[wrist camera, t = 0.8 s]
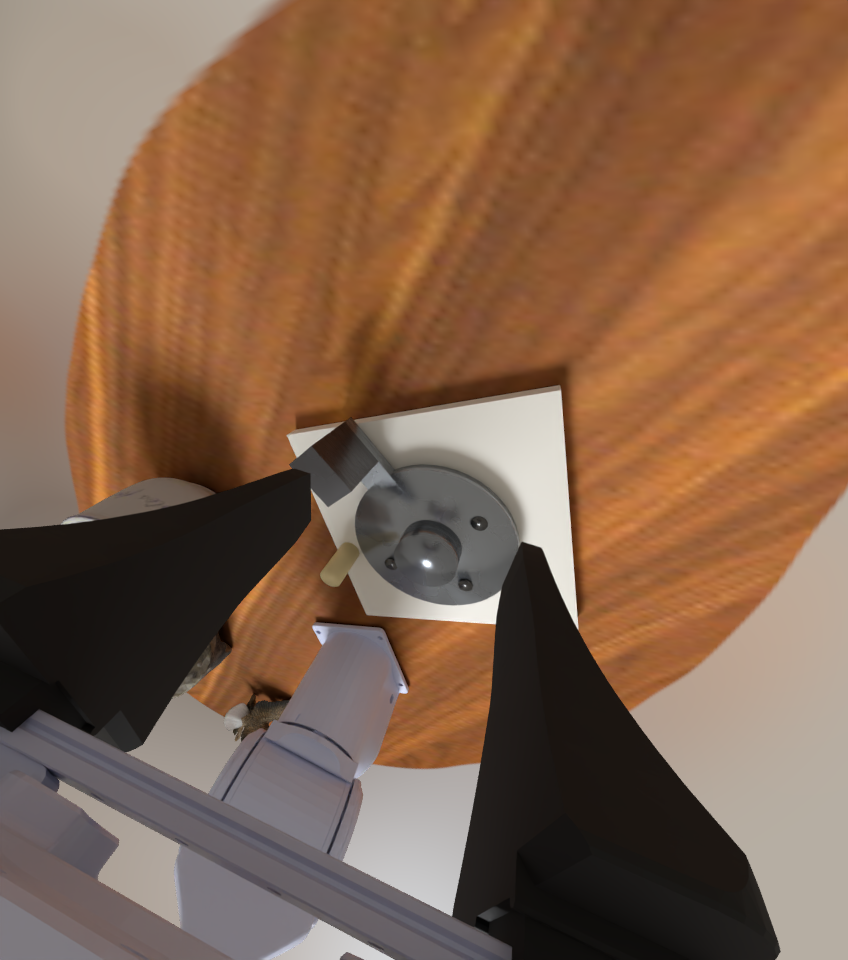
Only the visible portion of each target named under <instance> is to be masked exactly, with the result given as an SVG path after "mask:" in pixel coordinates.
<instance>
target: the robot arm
mask: <svg viewBox="0 0 848 960" xmlns="http://www.w3.org/2000/svg"><path fill="white" fill-rule="evenodd" d="M310 521H311V473H307V472H304V471H301V470H298V469H295V468H294V469H290V470H287V471H283V472H280V473H277V474H274V475H271V476H268V477H265V478H263V479H260V480H257V481H254V482H251V483H248V484H245V485H242V486H239V487H236V488H233V489H230V490H227V491H224V492H220V493H217V494H214V495H210V496H207V497H204V498H200V499H197V500H193V501H190V502H186V503H182V504H178V505H174V506H170V507H165V508H161V509H157V510H152V511H147V512H142V513H136V514H130V515H125V516H119V517H113V518H107V519H101V520H94V521H87V522H79V523H71V524H62V525H53V526H43V527H32V528H17V529H4V530H0V960H271V959H273V958H275V957H277V956H279V955H280V954H282V953H284V952H286V951H288V950H290V949H292V948H294V947H295V946H297V945H298V944H300V943H301V942H302V941H303V940H304V939H305V938H306V937H307V935H308V934H309V932H310V930H311V929H312V928H313V927H314V926H315V925H316V923H317V921H318V919H320V920H322V921H324V922H326V923H328V924H330V925H331V926H333V927H335V928H337V929H339V930H341V931H343V932H344V933H346V934H348V935H350V936H352V937H354V938H356V939H358V940H359V941H361V942H363V943H365V944H367V945H369V946H371V947H373V948H375V949H376V950H378V951H380V952H382V953H384V954H386V955H387V956H389V957H391V958H393V959H395V960H775V959H776V958H777V957H778V955H779V953H780V947H779V943H778V940H777V937H776V935H775V932H774V929H773V926H772V923H771V920H770V917H769V914H768V912H767V909H766V906H765V903H764V900H763V898H762V895H761V892H760V889H759V887H758V884H757V882H756V879H755V876H754V874H753V872H752V869H751V867H750V864H749V862H748V860H747V857H746V855H745V854H744V853H743V851H742V850H741V849H740V848H739V847H738V846H737V844H736V843H735V842H734V841H733V840H732V839H731V837H730V836H729V835H728V834H727V833H726V832H725V831H724V829H723V828H722V827H721V826H720V825H719V824H718V823H717V821H716V820H715V819H714V818H713V817H712V816H711V814H709V812H708V811H707V810H706V809H705V808H704V806H703V805H702V804H701V803H700V802H699V801H698V800H697V798H696V797H695V796H694V795H693V794H692V793H691V791H690V790H689V789H688V788H687V787H686V785H684V783H683V782H682V781H681V779H680V778H679V777H678V776H677V774H676V773H675V772H674V771H673V769H672V768H671V767H670V766H669V764H668V763H667V762H666V760H665V759H664V758H663V757H662V755H661V754H660V753H659V752H658V751H657V749H656V748H655V747H654V745H653V744H652V743H651V741H650V740H649V739H648V737H647V736H646V735H645V734H644V732H643V731H642V729H641V728H640V727H639V725H638V724H637V723H636V721H635V720H634V718H633V717H632V715H631V714H630V713H629V711H628V710H627V708H626V707H625V706H624V704H623V703H622V701H621V700H620V699H619V697H618V696H617V694H616V693H615V691H614V690H613V688H612V687H611V685H610V684H609V682H608V681H607V679H606V678H605V676H604V674H603V673H602V671H601V669H600V668H599V666H598V665H597V663H596V661H595V660H594V658H593V656H592V655H591V653H590V651H589V649H588V648H587V646H586V644H585V642H584V640H583V638H582V637H581V635H580V633H579V631H578V629H577V627H576V625H575V623H574V621H573V619H572V617H571V615H570V613H569V611H568V609H567V607H566V604H565V602H564V600H563V598H562V596H561V594H560V591H559V589H558V587H557V584H556V582H555V579H554V577H553V575H552V572H551V570H550V567H549V564H548V562H547V559H546V556H545V554H544V551H543V549H542V548H541V547H538V546H535V545H532V544H528V543H525V542H521V544H520V546H519V548H518V551H517V553H516V555H515V557H514V560H513V562H512V564H511V567H510V569H509V571H508V573H507V576H506V578H505V580H504V582H503V585H502V588H501V594H500V599H499V604H498V610H497V616H496V630H495V645H494V661H493V677H492V691H491V701H490V709H489V715H488V721H487V728H486V734H485V740H484V746H483V752H482V758H481V764H480V771H479V776H478V782H477V788H476V793H475V799H474V804H473V810H472V815H471V821H470V826H469V832H468V837H467V842H466V848H465V852H464V858H463V863H462V868H461V873H460V878H459V883H458V888H457V893H456V898H455V903H454V908H453V915H452V916H450V915H448V914H446V913H444V912H442V911H440V910H437V909H436V908H434V907H432V906H430V905H428V904H426V903H424V902H422V901H420V900H418V899H416V898H414V897H412V896H410V895H408V894H406V893H404V892H402V891H400V890H398V889H396V888H394V887H392V886H390V885H388V884H386V883H384V882H382V881H380V880H378V879H376V878H374V877H371V876H370V875H368V874H366V873H364V872H362V871H360V870H358V869H356V868H354V867H352V866H350V865H348V864H346V863H344V862H342V861H343V858H344V856H345V853H346V851H347V848H348V845H349V842H350V839H351V837H352V834H353V831H354V827H355V824H356V822H357V818H358V815H359V811H360V807H361V803H362V799H363V793H362V788H361V782H360V780H358V779H356V778H358V777H359V776H361V775H362V774H363V773H364V772H365V771H367V769H368V768H369V767H370V766H371V765H372V763H373V762H374V761H375V759H376V757H377V755H378V753H379V750H380V748H381V745H382V742H383V739H384V736H385V733H386V730H387V727H388V724H389V721H390V718H391V715H392V712H393V709H394V706H395V704H396V701H397V698H398V695H399V693H408V690H409V688H408V685H407V683H406V681H405V678H404V676H403V674H402V671H401V669H400V667H399V664H398V662H397V659H396V657H395V655H394V652H393V650H392V648H391V645H390V643H389V641H388V638H387V636H386V633H385V631H384V630H383V629H382V628H378V627H366V626H354V625H342V624H330V623H318V622H316V623H314V624H313V626H312V627H313V630H314V631H315V633H316V635H317V637H318V639H319V640H320V642H321V644H322V647H321V649H320V651H319V652H318V654H317V656H316V657H315V659H314V661H313V662H312V664H311V666H310V667H309V669H308V671H307V672H306V674H305V676H304V677H303V679H302V681H301V682H300V684H299V686H298V687H297V689H296V691H295V693H294V694H293V696H292V698H291V699H290V701H289V703H288V704H287V706H286V708H285V709H284V711H283V713H282V714H281V716H280V718H279V719H278V721H277V720H273V722H272V723H271V725H270V727H269V728H268V730H267V731H266V730H264V729H262V728H259V729H258V730H256V731H255V732H252V733H250V734H248V735H247V736H246V737H245V738H244V740H243V741H242V742H241V743H240V745H239V746H238V747H237V749H236V750H235V751H234V753H233V754H232V756H231V757H230V759H229V761H228V762H227V763H226V765H225V766H224V768H223V770H222V771H221V773H220V774H219V776H218V778H217V779H216V781H215V783H214V784H213V786H212V788H211V790H210V791H209V793H208V794H207V793H205V792H203V791H201V790H199V789H197V788H195V787H193V786H191V785H189V784H187V783H185V782H183V781H181V780H179V779H177V778H175V777H173V776H171V775H169V774H167V773H165V772H163V771H161V770H159V769H157V768H155V767H153V766H151V765H149V764H147V763H145V762H143V761H141V760H139V759H137V758H135V757H133V756H131V755H129V754H127V753H125V752H129V751H131V750H134V749H136V748H137V747H139V746H141V745H143V744H144V742H145V740H146V739H147V737H148V735H149V734H150V732H151V730H152V729H153V727H154V726H155V724H156V722H157V721H158V719H159V718H160V716H161V715H162V713H163V711H164V710H165V708H166V707H167V705H168V704H169V702H170V700H171V699H172V697H173V696H174V694H175V693H176V691H177V690H178V688H179V687H180V685H181V684H182V682H183V681H184V679H185V678H186V676H187V675H188V673H189V672H190V670H191V669H192V668H193V666H194V665H195V663H196V662H197V660H198V659H199V657H200V656H201V655H202V653H203V652H204V650H205V649H206V648H207V646H208V645H209V644H210V642H211V641H212V639H213V638H214V637H215V635H216V634H217V632H218V631H219V630H220V628H221V627H222V626H223V625H224V623H225V622H226V621H227V619H228V618H229V617H230V615H231V614H232V613H233V611H234V610H235V609H236V608H237V606H238V605H239V604H240V603H241V601H242V600H243V599H244V598H245V597H246V596H247V594H248V593H249V592H250V591H251V590H252V589H253V588H254V587H255V586H256V585H257V584H258V583H259V582H260V580H261V579H262V578H263V577H264V576H265V575H266V574H267V573H268V572H269V571H270V570H271V569H272V568H273V567H274V565H275V564H276V563H277V562H278V561H279V560H280V559H281V558H282V557H283V556H284V555H285V554H286V553H287V551H288V550H289V549H290V548H291V547H292V546H293V545H294V544H295V542H296V541H297V540H298V538H299V537H300V535H301V534H302V533H303V531H304V530H305V528H306V527H307V525H308V524H309V522H310ZM58 779H59V780H61V781H63V782H65V783H66V784H68V785H70V786H72V787H74V788H76V789H78V790H79V791H81V792H83V793H85V794H87V795H89V796H91V797H93V798H94V799H96V800H98V801H100V802H102V803H104V804H106V805H107V806H109V807H111V808H113V809H115V810H117V811H119V812H121V813H122V814H124V815H126V816H128V817H130V818H132V819H134V820H135V821H137V822H139V823H141V824H143V825H145V826H147V827H149V828H150V829H152V830H154V831H156V832H158V833H160V834H162V835H163V836H165V837H167V838H169V839H171V840H173V841H175V842H177V843H178V844H180V847H179V854H178V856H177V859H176V862H175V867H174V878H175V887H176V894H177V901H178V909H179V917H180V925H181V928H179V927H177V926H175V925H174V924H172V923H170V922H168V921H167V920H165V919H163V918H162V917H160V916H158V915H156V914H155V913H153V912H151V911H149V910H147V909H146V908H144V907H143V906H141V905H139V904H137V903H136V902H134V901H132V900H130V899H129V898H127V897H125V896H124V895H122V894H120V893H118V892H116V891H115V890H113V889H111V888H110V887H108V886H106V885H105V884H103V883H101V882H99V881H98V874H99V871H100V870H101V868H102V867H103V866H104V864H105V863H106V862H107V860H108V859H109V858H110V856H111V855H112V854H113V852H114V851H115V850H116V848H117V847H118V845H119V839H118V838H116V837H115V836H114V835H112V834H111V833H109V832H108V831H107V830H105V829H104V828H102V827H101V826H100V825H99V824H98V823H96V822H95V821H94V820H93V819H91V818H90V817H89V816H88V815H87V814H86V813H85V812H84V810H83V809H82V808H80V807H78V806H77V805H75V804H74V803H72V802H70V801H69V800H67V799H66V798H64V797H62V796H61V795H59V794H58V793H57V791H58V789H59V780H58ZM340 960H364V959H361V958H359V957H357V956H355V955H352V954H350V953H348V952H346V953H345V954H344V955H343V956H341V958H340Z"/></svg>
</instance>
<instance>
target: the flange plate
mask: <svg viewBox="0 0 848 960" xmlns="http://www.w3.org/2000/svg"><path fill="white" fill-rule="evenodd" d="M289 465H290V466H291V467H292V469H294V468H295V469H298V470H301V471H304V472H307V473H311V489H312V490H313V491H314V492H315V494H316V495H317V496H318V497H319V498H320V499H321V500H322V501H323V502H324V503H325V504H326V506H327V507H329V506H331V505H332V504H334V503H335V502H337V501H338V500H340V499H341V498H343V497H344V496H346V495H347V494H349V493H350V492H352V491H353V489H354V488H355V487H356V486H357V485H358V484H359V483H360V482H362V483H363V484H364V486H365V487H366V488H367V489H368V490H367V492H366V493H365V494H364V496H363V497H362V499H361V500H360V503H359V505H358V507H357V511H356V515H355V532H356V537H357V541H358V543H359V546H360V549H361V551H362V552H363V554H364V556H365V558H366V559H367V561H368V562H369V564H370V565H371V566H372V567H373V568H374V570H375V571H376V572H377V573H378V574H379V575H380V576H381V577H382V578H383V579H385V580H386V581H387V582H388V583H390V584H391V585H393V586H394V587H396V588H397V589H399V590H400V591H402V592H404V593H406V594H408V595H410V596H412V597H415V598H417V599H420V600H423V601H427V602H431V603H435V604H441V605H467V604H473V603H477V602H480V601H483V600H486V599H488V598H490V597H492V596H494V595H495V594H497V593H498V592H499V591H501V588H502V585H503V582H504V580H505V578H506V576H507V573H508V571H509V569H510V567H511V564H512V562H513V560H514V557H515V555H516V553H517V551H518V548H519V534H518V530H517V526H516V523H515V521H514V519H513V517H512V514H511V513H510V511H509V510H508V508H507V507H506V505H505V504H504V503H503V501H502V500H501V499H500V498H499V497H498V496H497V495H496V494H495V493H494V492H493V491H492V490H491V489H490V488H489V487H487V486H486V485H484V484H483V483H481V482H480V481H479V480H477V479H475V478H473V477H471V476H470V475H468V474H465V473H463V472H460V471H458V470H455V469H451V468H448V467H443V466H437V465H425V464H420V465H410V466H405V467H401V468H398V469H394V468H393V467H392V466H391V465H390V463H389V462H388V461H387V460H386V459H385V457H384V456H383V455H382V454H381V452H380V451H379V450H378V449H377V448H376V446H375V445H374V444H373V443H372V442H371V440H370V439H369V438H368V437H367V436H366V434H365V433H364V432H363V431H362V430H361V428H360V427H359V426H358V425H357V423H356V422H355V421H354V420H353V419H352V417H350V418H349V419H348V420H346V421H345V422H344V423H342V424H341V425H339V426H338V427H337V428H335V429H334V430H332V431H331V432H330V433H328V434H327V435H326V436H324V437H323V438H321V439H320V440H319V441H317V442H316V443H314V444H313V445H312V446H310V447H309V448H308V449H307V450H306V451H305V452H303V453H302V454H301V455H300V456H299V457H298V458H296V459H295V460H294V461H293V462H292V463H291V464H289Z"/></svg>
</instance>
